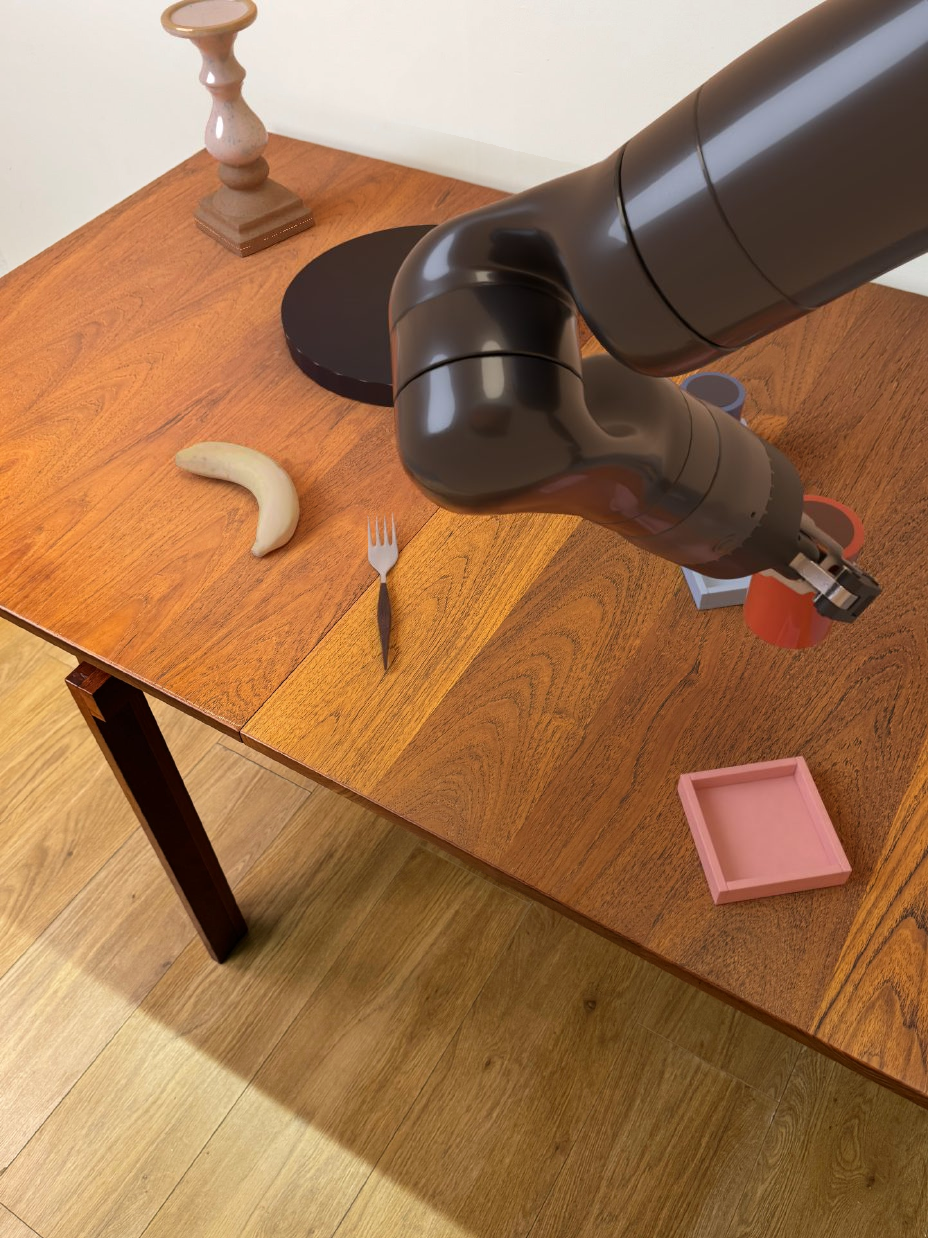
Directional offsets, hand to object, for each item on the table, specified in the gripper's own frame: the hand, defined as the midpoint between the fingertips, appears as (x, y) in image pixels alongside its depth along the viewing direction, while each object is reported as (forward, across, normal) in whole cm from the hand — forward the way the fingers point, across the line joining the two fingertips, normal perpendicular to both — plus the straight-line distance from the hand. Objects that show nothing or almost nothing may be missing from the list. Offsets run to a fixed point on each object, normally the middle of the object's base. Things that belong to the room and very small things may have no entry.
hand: (822, 559), depth 62 cm
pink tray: (+6, -7, +17) cm, 19 cm away
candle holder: (+8, +88, +15) cm, 90 cm away
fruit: (-6, +43, +29) cm, 52 cm away
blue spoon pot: (+20, +24, +2) cm, 31 cm away
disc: (+13, +58, +10) cm, 61 cm away
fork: (-2, +25, +25) cm, 36 cm away
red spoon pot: (+2, 0, +4) cm, 5 cm away
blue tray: (+18, +18, +4) cm, 26 cm away
